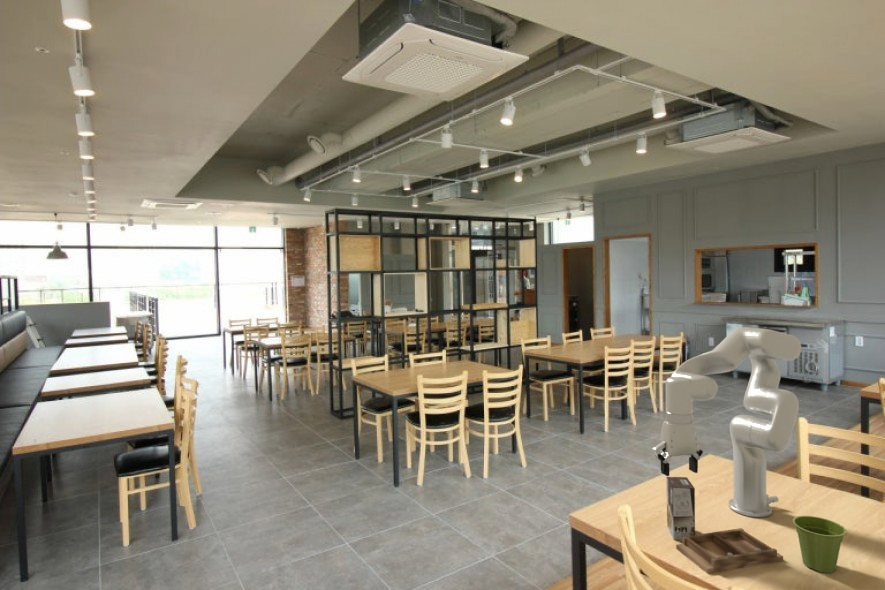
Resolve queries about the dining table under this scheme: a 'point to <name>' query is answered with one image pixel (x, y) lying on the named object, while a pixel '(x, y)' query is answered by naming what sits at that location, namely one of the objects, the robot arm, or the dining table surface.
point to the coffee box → (680, 507)
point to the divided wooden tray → (726, 550)
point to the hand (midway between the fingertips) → (679, 473)
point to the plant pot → (819, 541)
